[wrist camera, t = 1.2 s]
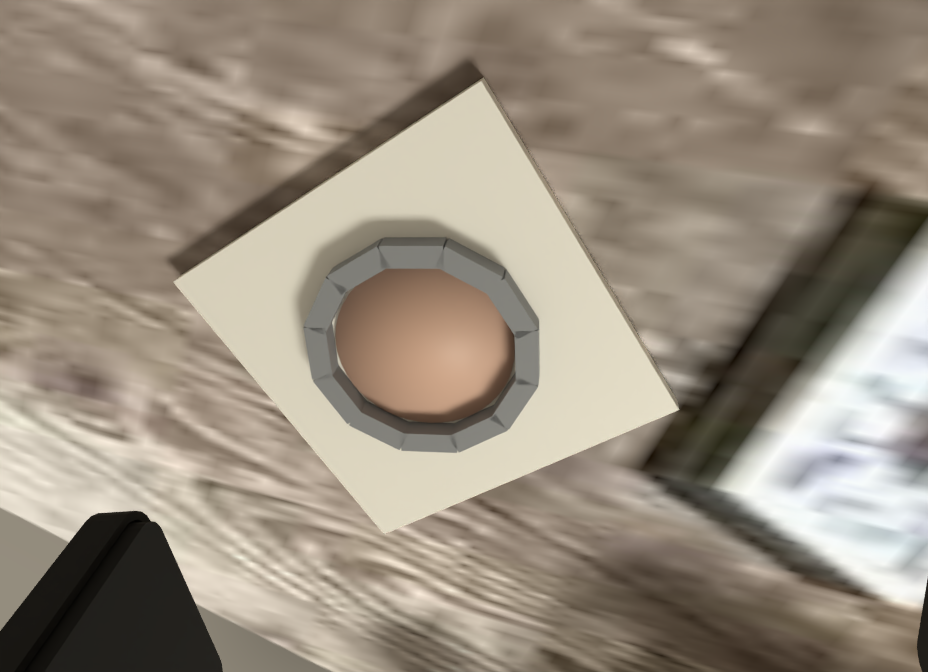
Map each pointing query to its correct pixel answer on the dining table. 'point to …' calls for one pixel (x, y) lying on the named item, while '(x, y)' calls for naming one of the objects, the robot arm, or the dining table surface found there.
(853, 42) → the dining table surface
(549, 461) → the seat board
